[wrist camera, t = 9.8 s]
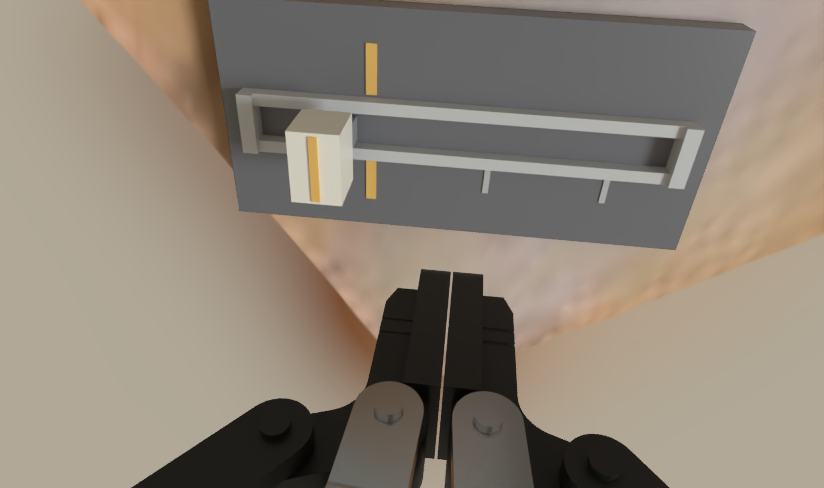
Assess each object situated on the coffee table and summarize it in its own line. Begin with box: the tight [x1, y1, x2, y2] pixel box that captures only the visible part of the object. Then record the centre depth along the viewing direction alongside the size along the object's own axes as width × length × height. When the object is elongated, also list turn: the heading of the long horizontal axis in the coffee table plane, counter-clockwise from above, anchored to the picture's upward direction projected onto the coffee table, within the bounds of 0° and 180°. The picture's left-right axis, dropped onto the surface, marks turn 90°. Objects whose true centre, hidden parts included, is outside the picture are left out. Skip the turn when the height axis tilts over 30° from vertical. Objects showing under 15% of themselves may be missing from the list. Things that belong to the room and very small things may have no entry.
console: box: [208, 0, 756, 250], centre depth 37 cm, size 15×32×3 cm, turn 88°
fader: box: [285, 109, 357, 206], centre depth 34 cm, size 4×3×7 cm
